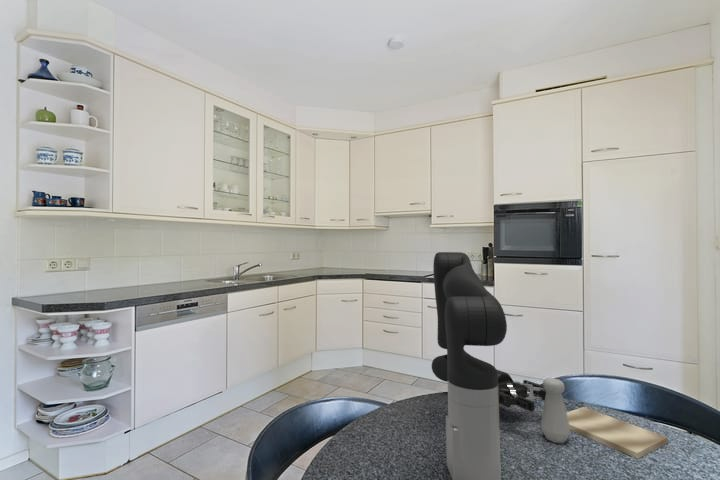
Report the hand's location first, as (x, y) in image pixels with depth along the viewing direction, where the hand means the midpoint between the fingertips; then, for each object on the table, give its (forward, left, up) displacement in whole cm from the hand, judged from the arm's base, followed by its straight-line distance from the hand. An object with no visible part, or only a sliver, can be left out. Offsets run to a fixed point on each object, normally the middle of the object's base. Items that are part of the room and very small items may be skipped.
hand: (545, 403), depth 80 cm
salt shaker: (+1, -2, -7) cm, 8 cm away
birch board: (+15, +2, -7) cm, 16 cm away
